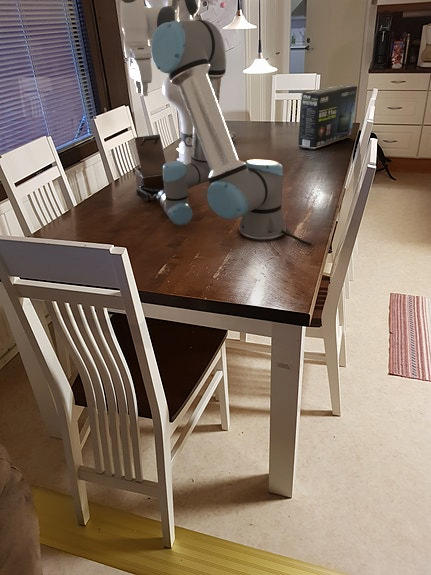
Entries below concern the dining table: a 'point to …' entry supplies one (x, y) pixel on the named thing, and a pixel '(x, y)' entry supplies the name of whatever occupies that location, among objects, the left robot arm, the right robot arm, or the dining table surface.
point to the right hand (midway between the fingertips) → (154, 182)
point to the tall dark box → (150, 154)
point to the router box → (326, 115)
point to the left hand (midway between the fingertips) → (142, 94)
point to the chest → (149, 181)
